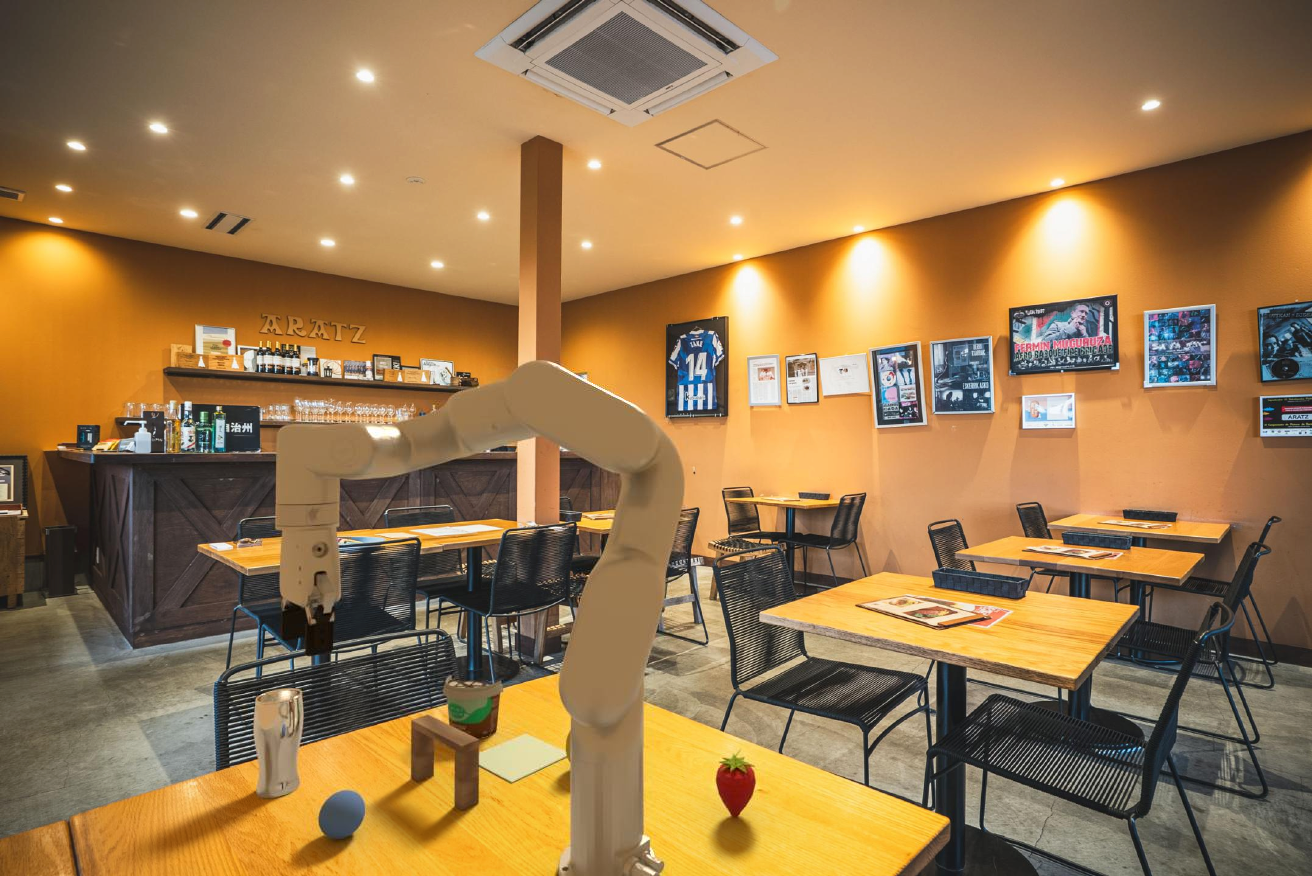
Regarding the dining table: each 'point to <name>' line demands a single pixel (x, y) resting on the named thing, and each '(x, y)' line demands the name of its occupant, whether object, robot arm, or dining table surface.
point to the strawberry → (735, 783)
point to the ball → (341, 814)
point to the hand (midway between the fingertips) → (306, 645)
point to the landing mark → (519, 757)
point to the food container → (473, 706)
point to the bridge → (465, 757)
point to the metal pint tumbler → (278, 741)
